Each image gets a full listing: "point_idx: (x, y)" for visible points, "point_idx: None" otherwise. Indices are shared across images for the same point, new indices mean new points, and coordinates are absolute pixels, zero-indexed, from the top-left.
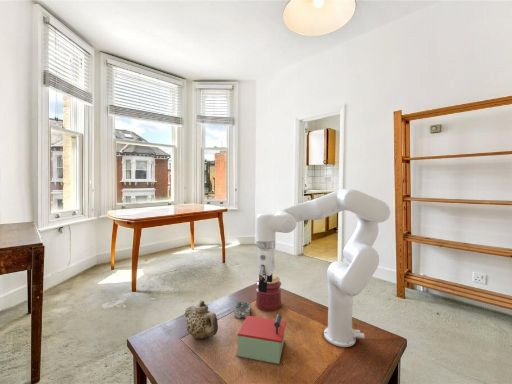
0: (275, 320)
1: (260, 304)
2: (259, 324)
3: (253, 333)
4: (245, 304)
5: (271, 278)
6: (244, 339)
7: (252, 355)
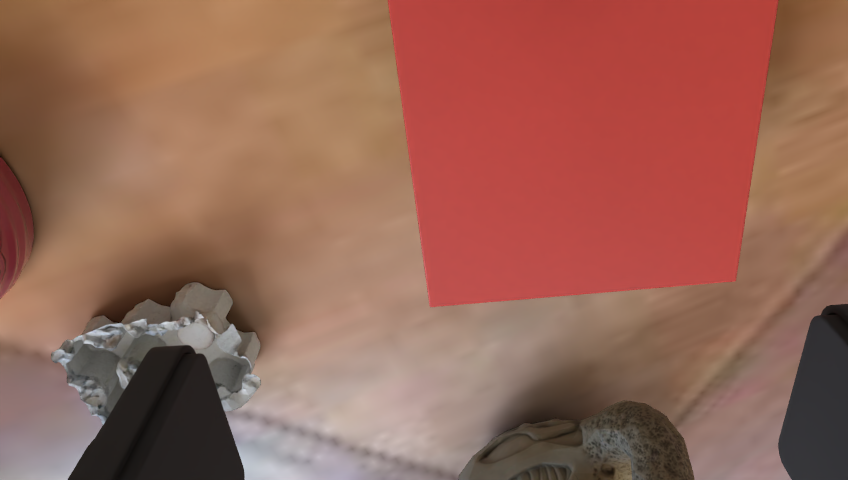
0: None
1: (12, 264)
2: (544, 151)
3: (715, 155)
4: (81, 367)
5: (162, 433)
6: None
7: None
